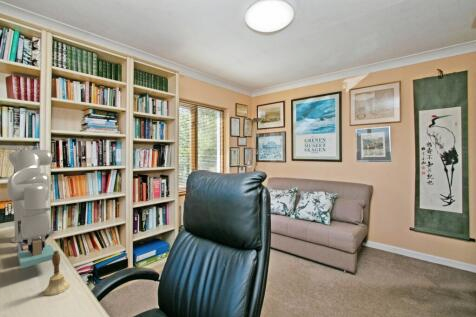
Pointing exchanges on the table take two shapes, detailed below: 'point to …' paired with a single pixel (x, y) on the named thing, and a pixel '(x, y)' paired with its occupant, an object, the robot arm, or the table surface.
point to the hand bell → (56, 278)
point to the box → (23, 247)
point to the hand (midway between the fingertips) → (36, 250)
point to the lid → (35, 254)
